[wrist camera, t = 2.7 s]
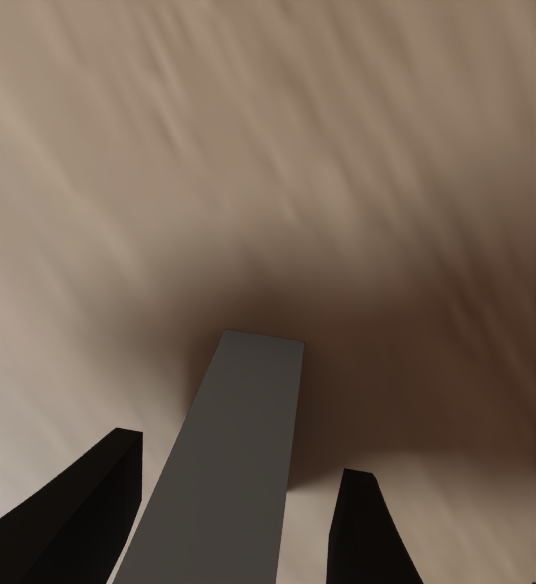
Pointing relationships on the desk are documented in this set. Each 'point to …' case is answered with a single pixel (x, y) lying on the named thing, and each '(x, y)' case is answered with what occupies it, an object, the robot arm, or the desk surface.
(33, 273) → the desk surface
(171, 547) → the domino
